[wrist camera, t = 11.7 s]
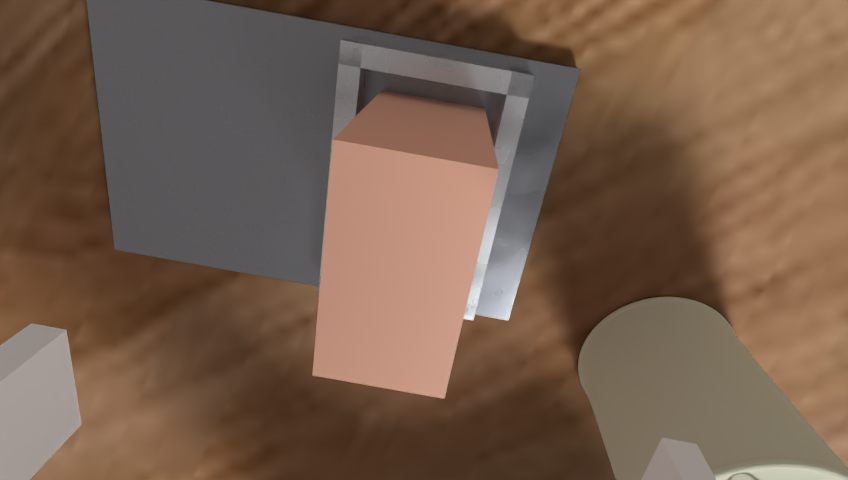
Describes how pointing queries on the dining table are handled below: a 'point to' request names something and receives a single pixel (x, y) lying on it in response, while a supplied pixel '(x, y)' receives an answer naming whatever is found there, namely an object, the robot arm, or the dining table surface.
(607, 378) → the can
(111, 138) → the pocket plate
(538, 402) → the dining table surface
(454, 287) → the terracotta block
